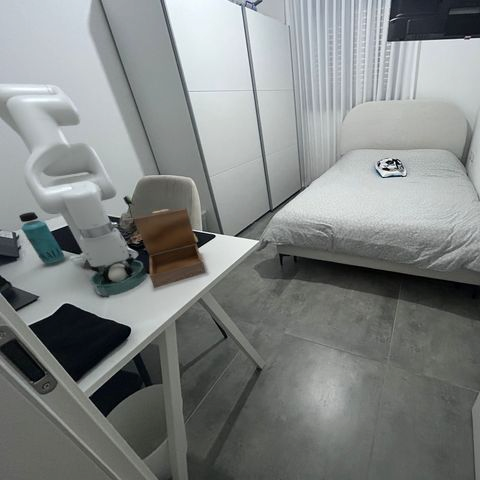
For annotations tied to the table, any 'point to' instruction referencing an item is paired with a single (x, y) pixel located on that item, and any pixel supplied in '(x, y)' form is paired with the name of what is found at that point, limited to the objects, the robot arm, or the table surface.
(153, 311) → the table surface
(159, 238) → the egg box lid
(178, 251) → the brown wooden box base
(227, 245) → the table surface
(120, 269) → the egg
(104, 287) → the bowl
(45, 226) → the beverage bottle
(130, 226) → the plant with pod
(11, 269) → the table surface
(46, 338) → the table surface
